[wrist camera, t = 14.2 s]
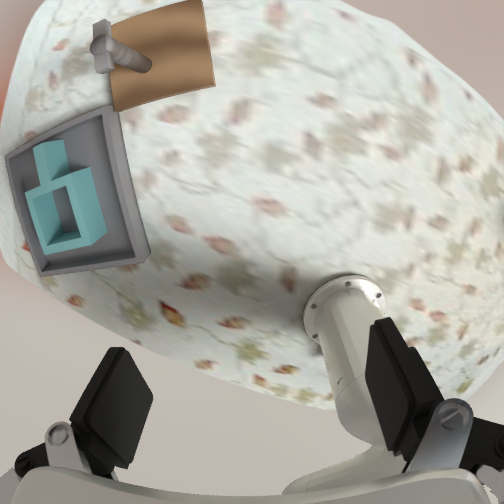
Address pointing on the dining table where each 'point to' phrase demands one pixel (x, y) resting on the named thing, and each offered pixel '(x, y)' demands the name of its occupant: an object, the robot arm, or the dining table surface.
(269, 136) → the dining table surface
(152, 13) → the stake board
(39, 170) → the teal hollow frame
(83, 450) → the robot arm
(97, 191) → the tray
